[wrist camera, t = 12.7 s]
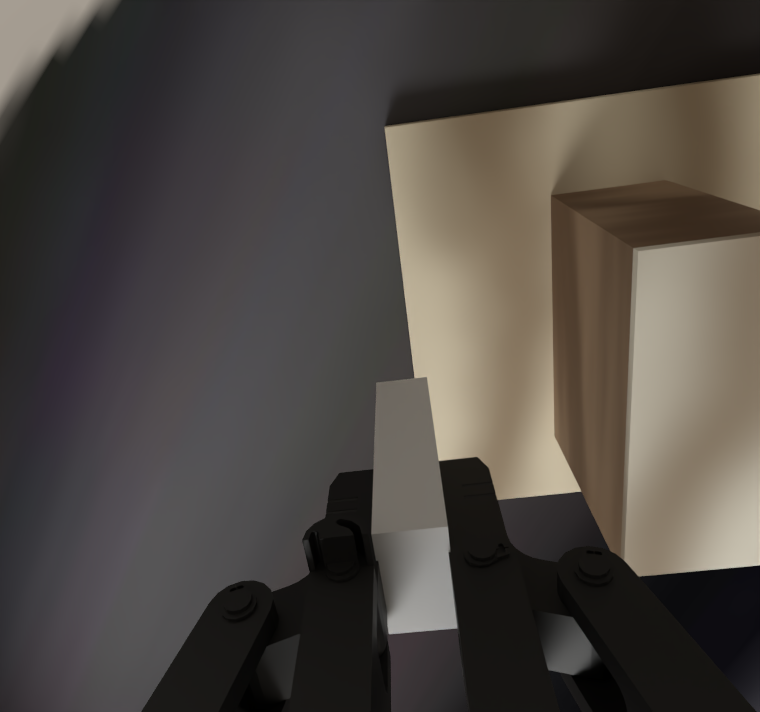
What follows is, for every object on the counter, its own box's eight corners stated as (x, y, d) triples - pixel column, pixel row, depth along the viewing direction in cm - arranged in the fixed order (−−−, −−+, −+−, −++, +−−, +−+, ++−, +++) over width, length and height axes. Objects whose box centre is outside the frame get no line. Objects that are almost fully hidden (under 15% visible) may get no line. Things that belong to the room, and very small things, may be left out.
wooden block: (554, 435, 25) (623, 577, 18) (550, 195, 21) (638, 250, 14) (650, 425, 25) (761, 564, 18) (665, 180, 21) (817, 228, 14)
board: (428, 492, 28) (430, 506, 27) (384, 125, 21) (384, 127, 20) (879, 446, 26) (896, 459, 25) (977, 43, 20) (1006, 40, 19)
